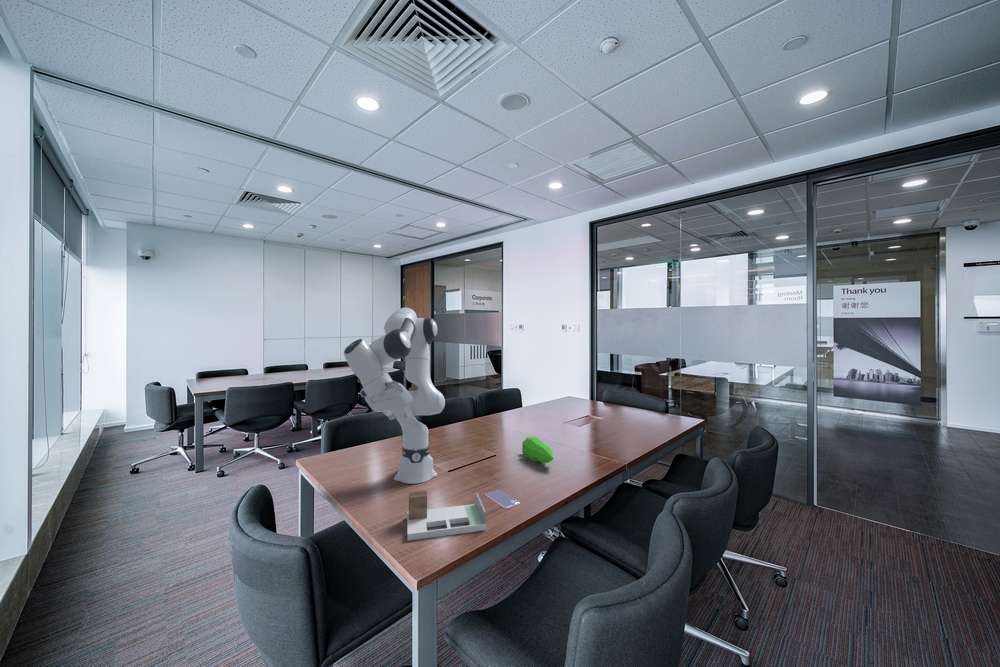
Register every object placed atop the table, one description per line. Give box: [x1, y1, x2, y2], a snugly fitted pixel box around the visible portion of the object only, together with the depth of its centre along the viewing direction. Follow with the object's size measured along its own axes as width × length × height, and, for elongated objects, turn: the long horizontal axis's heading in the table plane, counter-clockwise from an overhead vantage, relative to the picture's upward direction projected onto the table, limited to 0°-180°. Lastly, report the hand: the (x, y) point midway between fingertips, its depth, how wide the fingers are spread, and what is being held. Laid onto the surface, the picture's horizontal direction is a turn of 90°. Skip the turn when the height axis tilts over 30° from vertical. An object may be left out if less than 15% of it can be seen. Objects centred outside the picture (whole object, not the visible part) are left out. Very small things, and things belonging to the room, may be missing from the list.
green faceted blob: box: [521, 436, 554, 465], centre depth 186 cm, size 11×12×30 cm
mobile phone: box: [484, 489, 521, 509], centre depth 145 cm, size 8×1×15 cm
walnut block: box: [408, 489, 428, 520], centre depth 127 cm, size 5×6×8 cm
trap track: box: [406, 492, 487, 541], centre depth 126 cm, size 15×25×6 cm, turn 104°
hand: (400, 417), depth 127 cm, fingers open, 8 cm apart
